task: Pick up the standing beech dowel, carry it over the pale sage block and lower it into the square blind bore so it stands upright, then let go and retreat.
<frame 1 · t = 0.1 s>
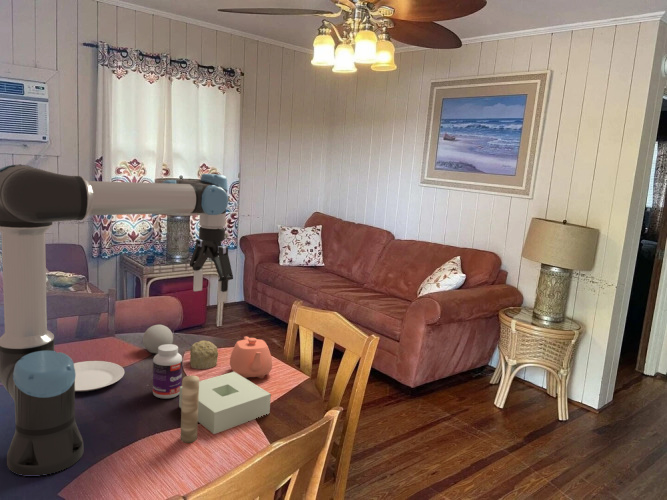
hand: (209, 296, 155), 28 cm above the table, fingers open, 13 cm apart
ball: (157, 353, 180), on the table
dowel: (188, 438, 129), on the table
decorative object: (203, 364, 174), on the table
pill bottle: (166, 394, 151), on the table
teapot: (250, 375, 169), on the table
plate: (87, 382, 155), on the table
bore block: (224, 410, 144), on the table
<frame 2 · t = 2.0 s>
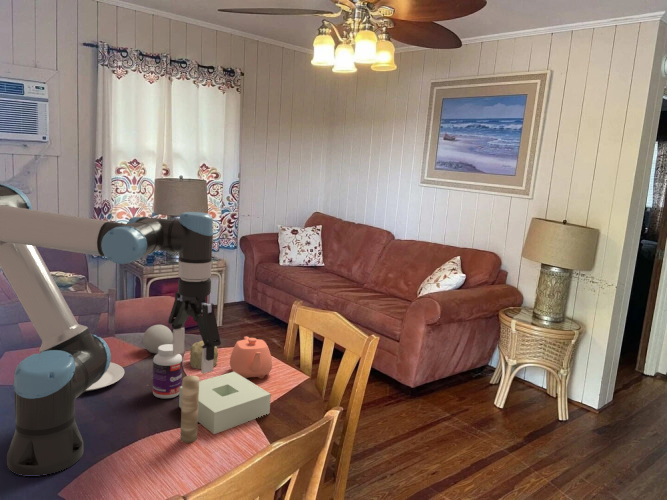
hand: (192, 362, 125), 20 cm above the table, fingers open, 13 cm apart
nothing on the table moved.
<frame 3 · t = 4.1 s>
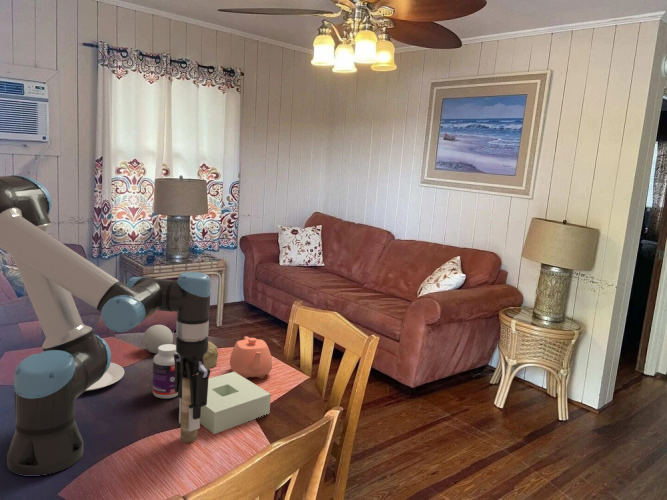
hand: (189, 425, 128), 4 cm above the table, fingers closed on dowel, 4 cm apart
dowel: (188, 438, 129), on the table, touching gripper
everything else where it was.
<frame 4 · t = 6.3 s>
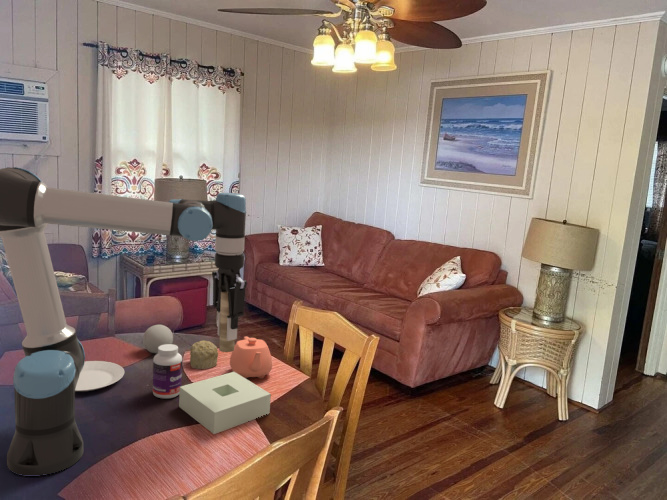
hand: (227, 336, 139), 22 cm above the table, fingers closed on dowel, 4 cm apart
dowel: (226, 349, 139), point 19 cm above the table, touching gripper
everything else where it was.
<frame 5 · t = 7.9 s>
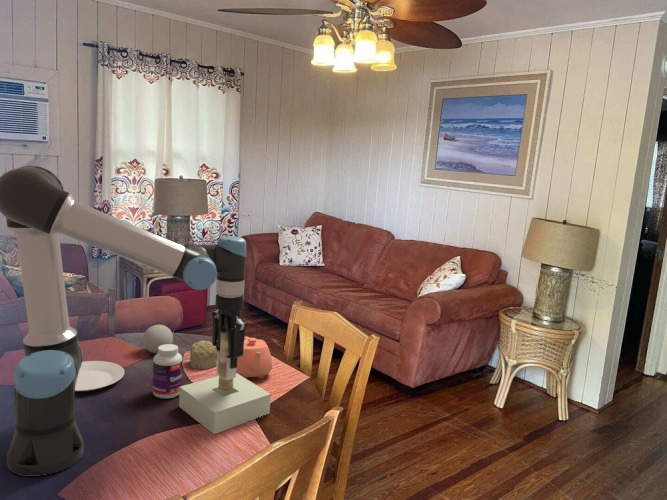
hand: (226, 375, 142), 11 cm above the table, fingers closed on dowel, 4 cm apart
dowel: (225, 387, 143), point 7 cm above the table, touching gripper
everything else where it was.
when the fingers open (7 cm above the table, at t = 8.8 s): dowel drops 2 cm, resting on bore block.
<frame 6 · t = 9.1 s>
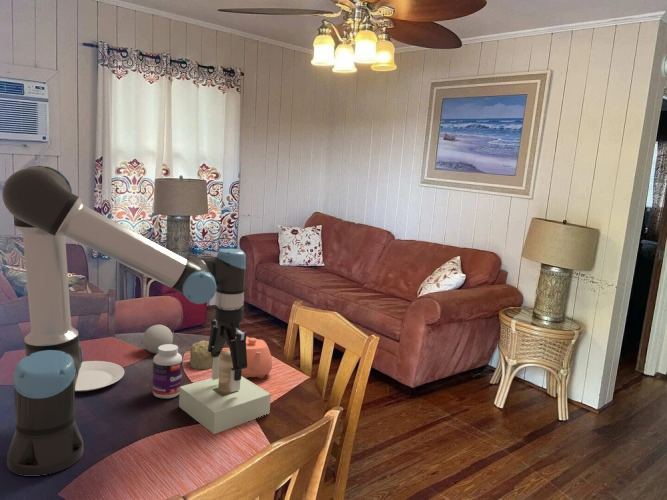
hand: (225, 384, 143), 8 cm above the table, fingers open, 8 cm apart
dowel: (224, 406, 144), point 1 cm above the table, touching bore block
everything else where it was.
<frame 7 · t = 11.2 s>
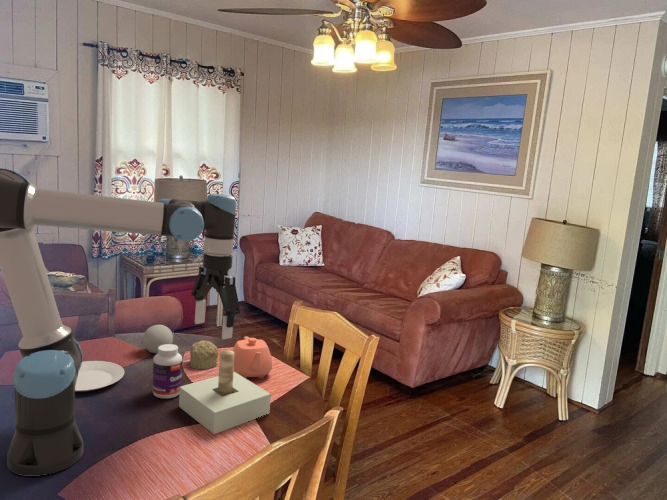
hand: (212, 330, 138), 24 cm above the table, fingers open, 13 cm apart
nothing on the table moved.
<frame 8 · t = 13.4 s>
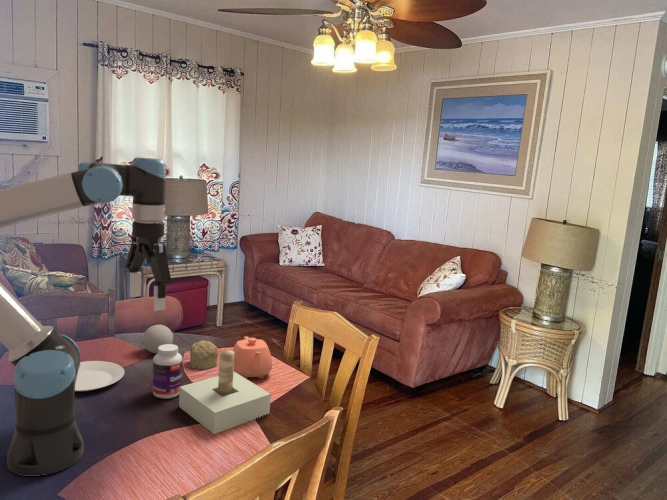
hand: (146, 303, 131), 32 cm above the table, fingers open, 13 cm apart
nothing on the table moved.
at the end: dowel 0.0 cm off-centre on the bore block, point 1.0 cm above the bore block's base; dowel tilted 0°; the gripper is holding nothing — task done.
